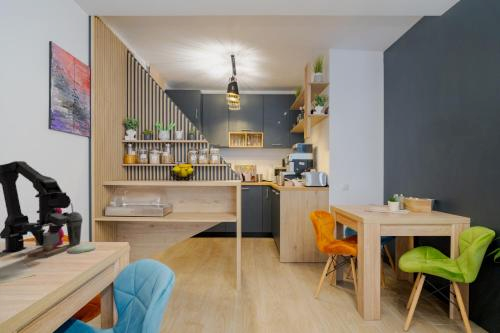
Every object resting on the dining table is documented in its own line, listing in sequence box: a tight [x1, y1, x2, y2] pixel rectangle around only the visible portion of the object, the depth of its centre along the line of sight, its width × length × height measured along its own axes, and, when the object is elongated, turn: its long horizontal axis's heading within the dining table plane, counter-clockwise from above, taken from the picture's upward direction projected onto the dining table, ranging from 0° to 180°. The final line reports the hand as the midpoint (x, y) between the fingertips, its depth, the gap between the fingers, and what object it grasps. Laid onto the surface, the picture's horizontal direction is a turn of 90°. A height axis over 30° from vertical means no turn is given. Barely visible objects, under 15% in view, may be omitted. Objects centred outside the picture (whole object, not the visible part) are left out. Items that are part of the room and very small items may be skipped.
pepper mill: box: [46, 208, 65, 247], centre depth 143 cm, size 7×7×20 cm
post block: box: [27, 245, 68, 258], centre depth 128 cm, size 10×10×8 cm
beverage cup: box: [65, 203, 83, 246], centre depth 143 cm, size 7×7×20 cm
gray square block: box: [35, 231, 59, 247], centre depth 128 cm, size 6×6×4 cm
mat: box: [67, 244, 97, 254], centre depth 133 cm, size 11×11×1 cm
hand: (47, 243), depth 128 cm, fingers closed on gray square block, 6 cm apart
